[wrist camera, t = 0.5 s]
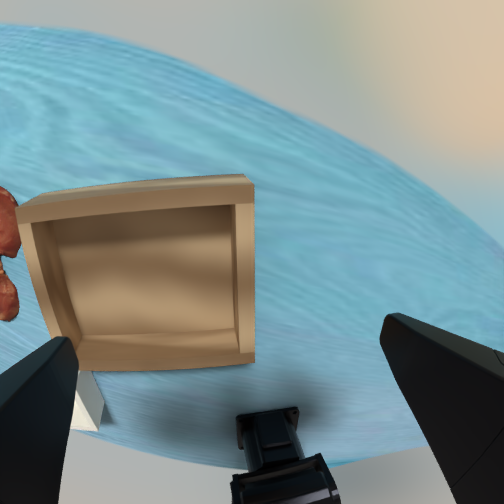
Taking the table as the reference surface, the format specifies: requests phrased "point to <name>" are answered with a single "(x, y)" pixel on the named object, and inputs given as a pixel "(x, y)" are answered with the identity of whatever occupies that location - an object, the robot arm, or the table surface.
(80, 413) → the cream crate
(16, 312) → the steak
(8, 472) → the robot arm
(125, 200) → the walnut crate
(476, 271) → the table surface
